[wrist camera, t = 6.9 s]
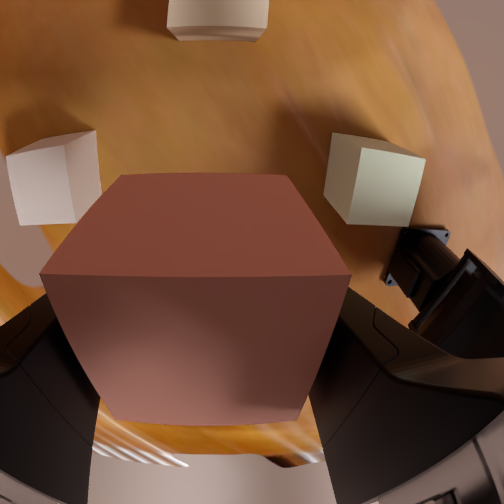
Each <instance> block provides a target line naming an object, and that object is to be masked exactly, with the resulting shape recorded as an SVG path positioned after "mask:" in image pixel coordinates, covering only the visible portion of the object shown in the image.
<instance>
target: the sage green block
mask: <svg viewBox="0 0 504 504" xmlns="http://www.w3.org/2000/svg"><path fill="white" fill-rule="evenodd" d="M425 161H426V159H424V158H423V157H421V156H419V155H417V154H415V153H413V152H410V151H408V150H406V149H404V148H402V147H400V146H398V145H396V144H393V143H391V142H389V141H383V140H378V139H372V138H367V137H360V136H354V135H348V134H341V133H333V132H332V139H331V146H330V153H329V161H328V167H327V174H326V181H325V187H324V193H323V196H324V197H325V198H326V199H327V200H328V202H329V203H330V204H331V205H332V206H333V208H334V209H335V210H336V211H337V213H338V214H339V215H340V216H341V217H342V219H343V220H344V221H345V222H346V224H355V225H381V226H403V227H408V226H409V223H410V219H411V216H412V212H413V209H414V205H415V202H416V198H417V194H418V190H419V186H420V182H421V178H422V174H423V170H424V165H425Z"/></svg>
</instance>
